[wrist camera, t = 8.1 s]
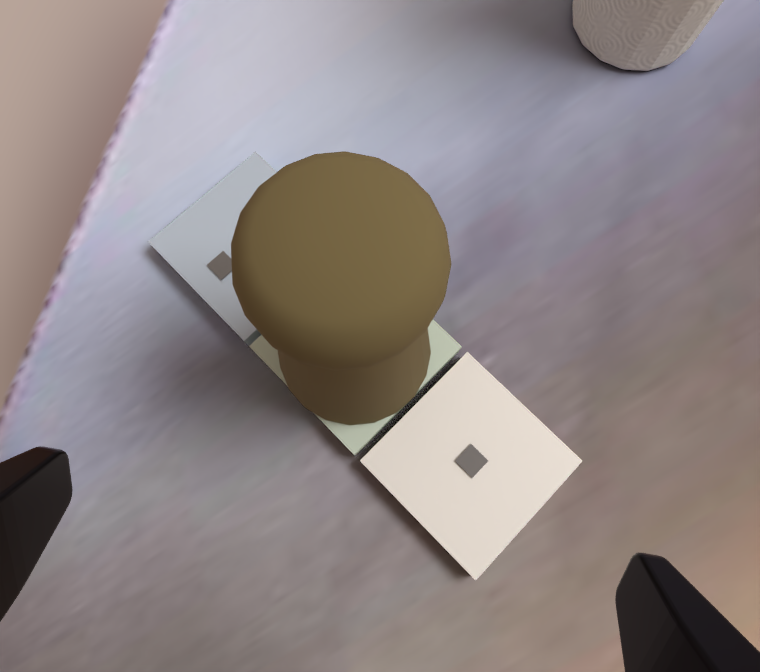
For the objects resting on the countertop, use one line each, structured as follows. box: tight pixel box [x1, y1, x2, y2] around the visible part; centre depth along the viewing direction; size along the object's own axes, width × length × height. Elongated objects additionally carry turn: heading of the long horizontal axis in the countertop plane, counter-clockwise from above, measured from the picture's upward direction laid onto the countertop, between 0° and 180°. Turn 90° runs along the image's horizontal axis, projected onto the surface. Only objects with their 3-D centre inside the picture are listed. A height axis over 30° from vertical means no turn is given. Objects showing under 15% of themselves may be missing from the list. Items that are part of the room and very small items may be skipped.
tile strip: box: [148, 152, 582, 580], centre depth 23 cm, size 6×19×1 cm, turn 45°
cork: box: [231, 152, 451, 425], centre depth 17 cm, size 6×6×11 cm
